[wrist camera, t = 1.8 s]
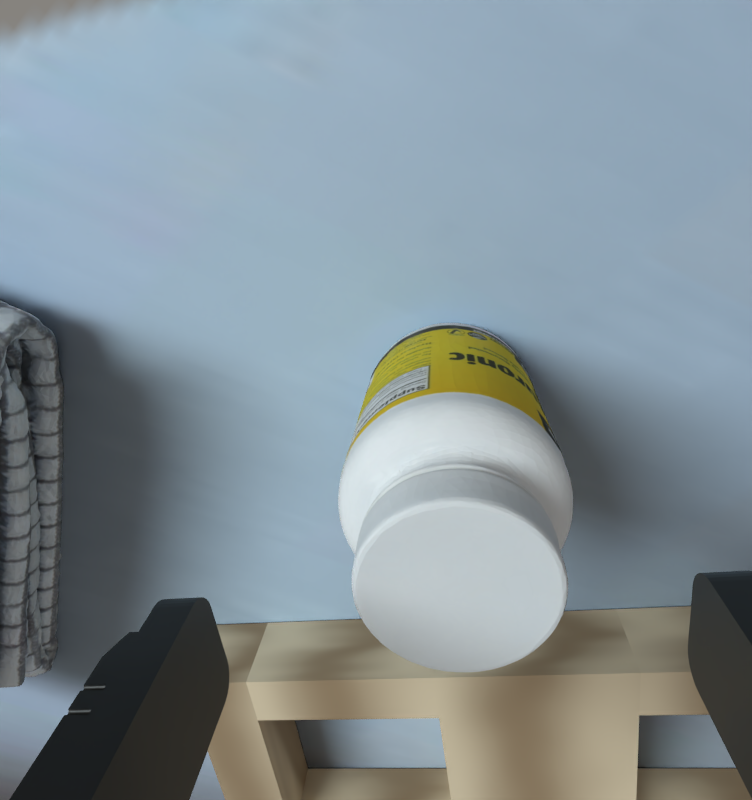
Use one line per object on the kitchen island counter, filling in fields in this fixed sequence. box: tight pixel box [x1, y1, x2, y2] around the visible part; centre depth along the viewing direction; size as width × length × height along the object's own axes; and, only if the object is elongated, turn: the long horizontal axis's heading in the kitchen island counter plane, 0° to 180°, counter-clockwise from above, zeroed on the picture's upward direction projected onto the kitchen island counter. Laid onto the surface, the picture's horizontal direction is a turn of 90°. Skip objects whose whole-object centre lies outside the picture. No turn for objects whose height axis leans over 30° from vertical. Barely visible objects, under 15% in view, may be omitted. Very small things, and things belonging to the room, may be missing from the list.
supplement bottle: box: [338, 323, 573, 672], centre depth 15 cm, size 5×5×10 cm
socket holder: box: [208, 606, 752, 800], centre depth 24 cm, size 26×13×3 cm, turn 98°
